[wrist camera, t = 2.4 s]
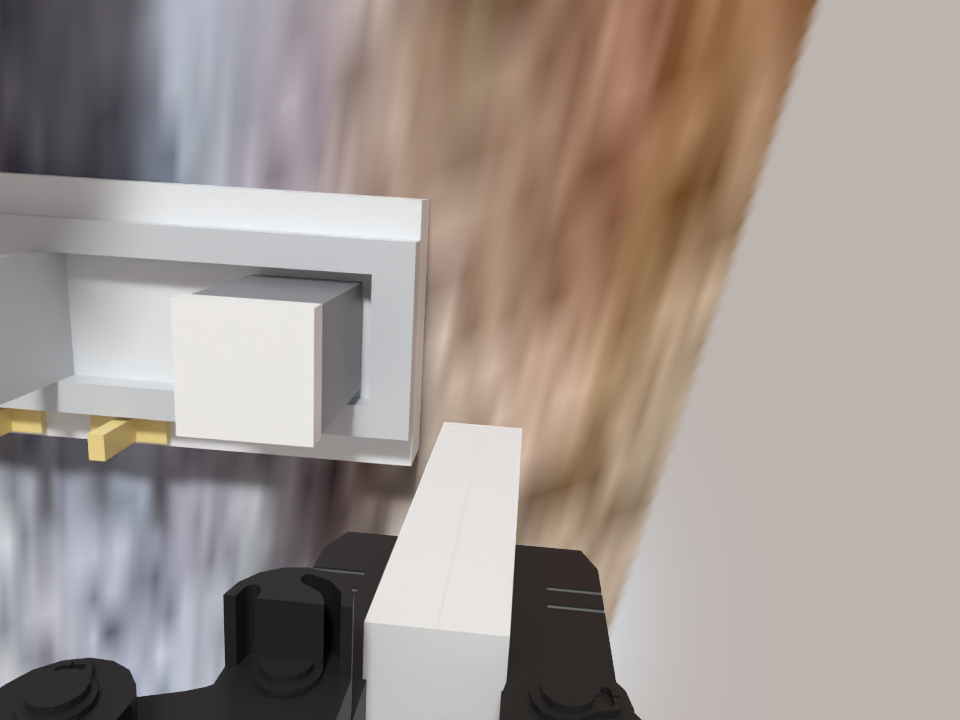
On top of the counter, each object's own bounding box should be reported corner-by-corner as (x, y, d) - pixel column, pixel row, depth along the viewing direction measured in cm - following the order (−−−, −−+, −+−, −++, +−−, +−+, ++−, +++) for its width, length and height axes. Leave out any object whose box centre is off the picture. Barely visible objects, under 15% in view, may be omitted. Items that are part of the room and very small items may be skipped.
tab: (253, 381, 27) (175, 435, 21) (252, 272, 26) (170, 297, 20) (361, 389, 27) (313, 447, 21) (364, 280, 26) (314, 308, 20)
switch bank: (-202, 396, 31) (-372, 445, 25) (-243, 156, 28) (-442, 147, 23) (419, 447, 29) (391, 511, 24) (429, 199, 27) (402, 202, 21)
